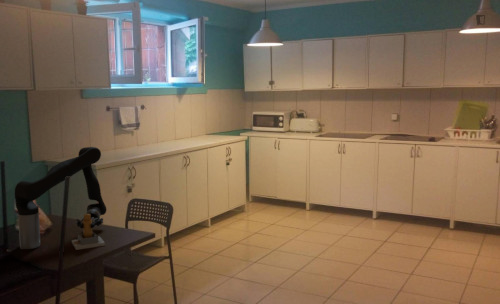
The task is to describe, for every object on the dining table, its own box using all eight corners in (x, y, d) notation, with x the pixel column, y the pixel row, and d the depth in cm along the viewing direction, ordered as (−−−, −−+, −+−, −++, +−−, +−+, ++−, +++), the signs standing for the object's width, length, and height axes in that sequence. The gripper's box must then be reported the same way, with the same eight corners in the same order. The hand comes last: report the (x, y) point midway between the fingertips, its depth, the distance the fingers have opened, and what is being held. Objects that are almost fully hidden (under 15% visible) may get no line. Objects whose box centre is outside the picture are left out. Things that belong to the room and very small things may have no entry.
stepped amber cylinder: (84, 241, 238) (83, 216, 236) (82, 238, 241) (81, 214, 240) (93, 239, 240) (92, 214, 238) (91, 237, 244) (90, 212, 242)
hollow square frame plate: (76, 249, 232) (75, 241, 232) (71, 243, 243) (71, 234, 242) (105, 245, 239) (104, 236, 239) (99, 238, 250) (99, 230, 249)
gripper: (77, 211, 252) (71, 219, 235) (105, 210, 254) (101, 218, 238) (78, 224, 253) (72, 234, 236) (106, 223, 255) (101, 233, 239)
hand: (86, 226), depth 237 cm, fingers closed on stepped amber cylinder, 4 cm apart
